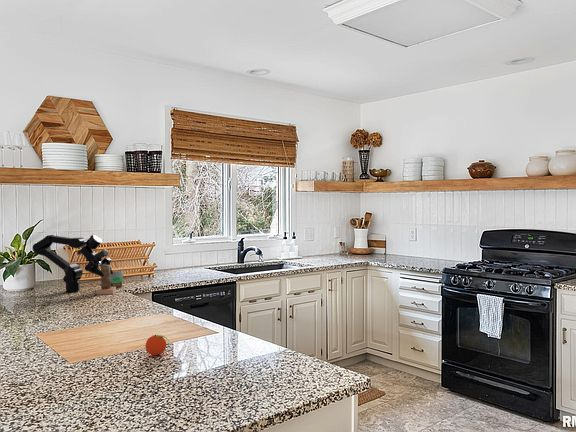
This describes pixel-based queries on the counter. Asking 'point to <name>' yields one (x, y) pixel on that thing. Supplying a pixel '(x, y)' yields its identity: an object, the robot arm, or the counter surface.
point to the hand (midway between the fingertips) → (108, 275)
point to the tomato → (156, 344)
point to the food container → (117, 279)
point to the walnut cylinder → (105, 277)
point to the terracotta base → (105, 291)
